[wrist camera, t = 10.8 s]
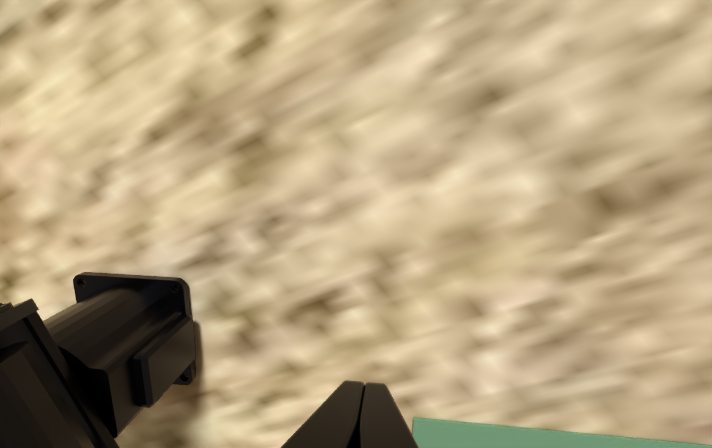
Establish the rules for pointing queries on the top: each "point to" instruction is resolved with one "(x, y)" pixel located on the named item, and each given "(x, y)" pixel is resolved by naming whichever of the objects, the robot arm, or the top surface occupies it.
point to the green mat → (521, 437)
